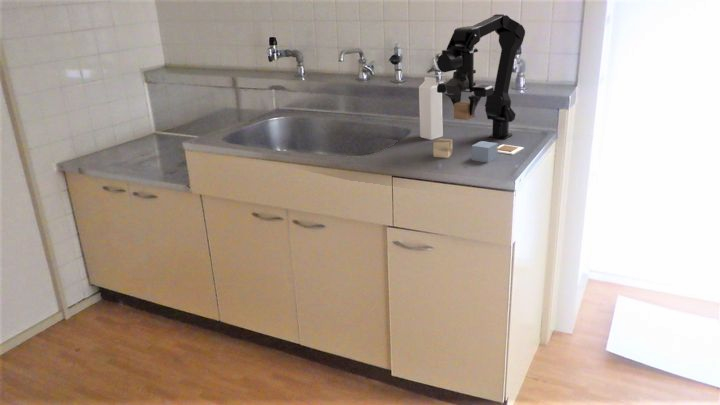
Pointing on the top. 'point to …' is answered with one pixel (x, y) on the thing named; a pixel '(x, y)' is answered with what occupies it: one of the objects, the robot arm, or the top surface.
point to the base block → (484, 151)
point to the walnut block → (462, 110)
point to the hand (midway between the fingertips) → (464, 114)
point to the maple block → (442, 148)
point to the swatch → (509, 149)
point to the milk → (430, 110)
